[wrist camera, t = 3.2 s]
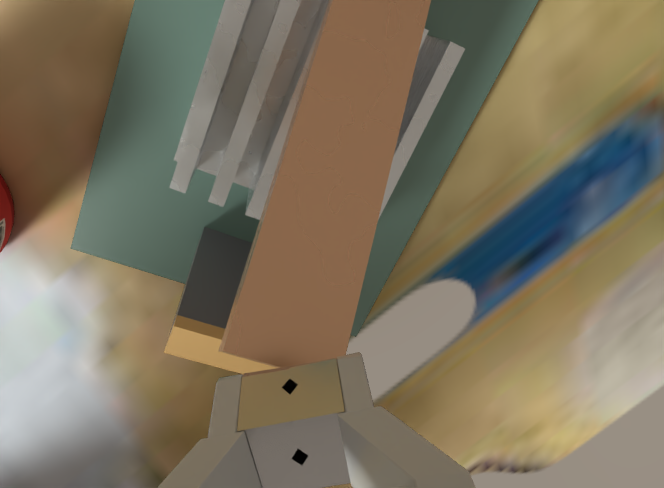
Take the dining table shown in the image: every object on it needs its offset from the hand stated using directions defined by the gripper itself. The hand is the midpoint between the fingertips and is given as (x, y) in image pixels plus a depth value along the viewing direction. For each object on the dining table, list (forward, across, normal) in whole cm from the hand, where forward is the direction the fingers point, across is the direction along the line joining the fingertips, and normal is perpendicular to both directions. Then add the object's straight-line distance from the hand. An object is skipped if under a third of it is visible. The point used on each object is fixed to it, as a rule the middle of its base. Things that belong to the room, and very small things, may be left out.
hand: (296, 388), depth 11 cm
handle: (+8, -3, -4) cm, 9 cm away
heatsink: (+20, -2, -2) cm, 20 cm away
